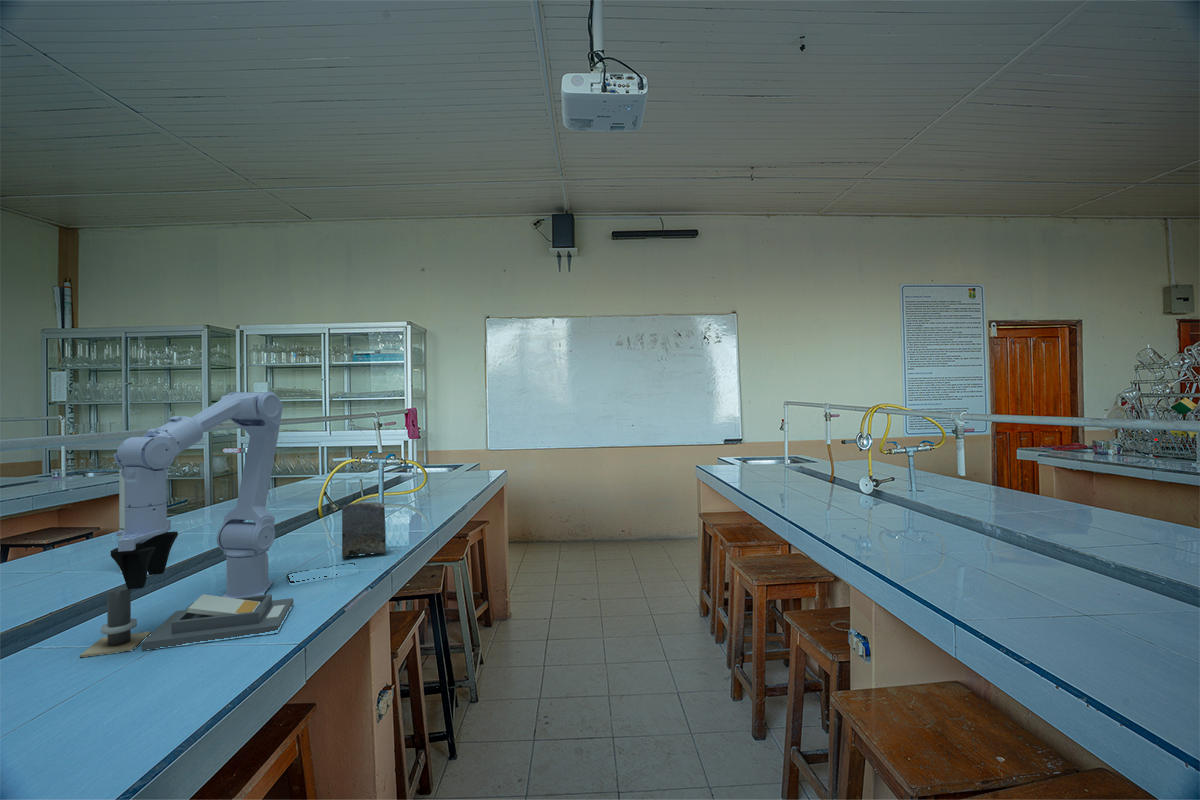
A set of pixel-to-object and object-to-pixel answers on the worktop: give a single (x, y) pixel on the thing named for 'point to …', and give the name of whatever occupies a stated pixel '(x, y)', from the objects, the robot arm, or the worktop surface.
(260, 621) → the switch panel
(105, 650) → the pad
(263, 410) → the robot arm
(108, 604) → the dark round-ended cylinder
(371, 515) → the geological specimen
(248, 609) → the rocker switch
